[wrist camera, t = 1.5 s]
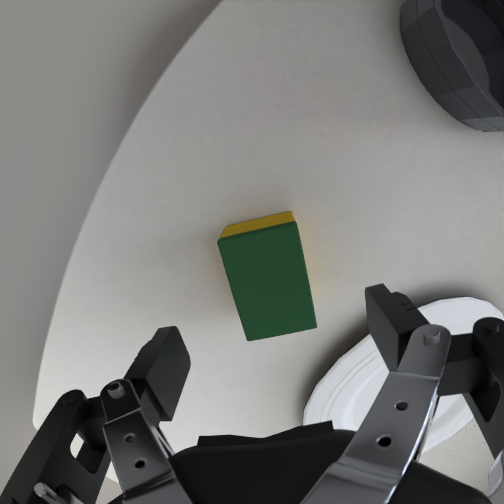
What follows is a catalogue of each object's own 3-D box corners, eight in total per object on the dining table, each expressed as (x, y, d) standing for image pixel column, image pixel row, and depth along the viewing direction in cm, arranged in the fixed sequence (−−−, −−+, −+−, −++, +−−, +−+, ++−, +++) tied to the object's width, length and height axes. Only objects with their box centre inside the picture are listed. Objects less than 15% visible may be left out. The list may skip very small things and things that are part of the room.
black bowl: (374, -21, 12) (399, -56, 7) (489, 0, 11) (522, -16, 6) (428, 135, 15) (474, 134, 11) (531, 130, 14) (572, 132, 9)
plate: (263, 442, 24) (262, 457, 22) (381, 247, 18) (392, 256, 16) (418, 456, 26) (422, 467, 24) (527, 319, 19) (537, 328, 17)
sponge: (226, 226, 18) (216, 242, 15) (291, 210, 18) (296, 223, 14) (250, 312, 20) (247, 341, 16) (309, 299, 19) (317, 328, 16)
